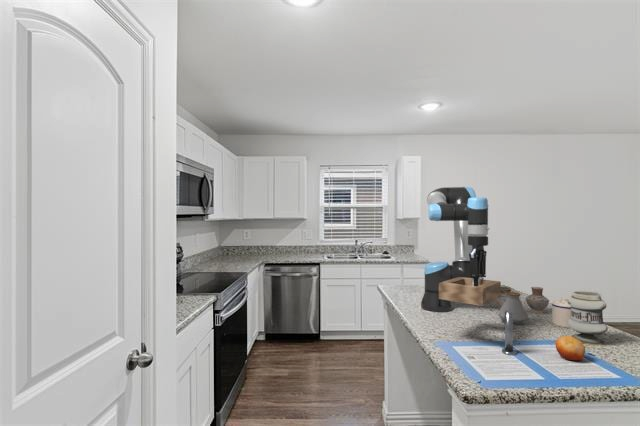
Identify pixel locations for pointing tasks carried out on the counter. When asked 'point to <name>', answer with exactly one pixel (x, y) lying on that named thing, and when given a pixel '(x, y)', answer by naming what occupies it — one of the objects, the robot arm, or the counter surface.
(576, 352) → the fruit
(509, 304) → the coffee pot
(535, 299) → the pottery
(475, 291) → the walnut box
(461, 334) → the counter surface
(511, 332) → the metal post
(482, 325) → the counter surface
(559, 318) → the teacup with lid
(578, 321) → the apothecary jar
